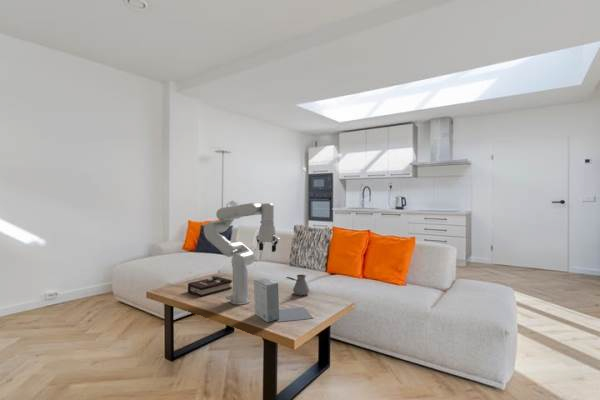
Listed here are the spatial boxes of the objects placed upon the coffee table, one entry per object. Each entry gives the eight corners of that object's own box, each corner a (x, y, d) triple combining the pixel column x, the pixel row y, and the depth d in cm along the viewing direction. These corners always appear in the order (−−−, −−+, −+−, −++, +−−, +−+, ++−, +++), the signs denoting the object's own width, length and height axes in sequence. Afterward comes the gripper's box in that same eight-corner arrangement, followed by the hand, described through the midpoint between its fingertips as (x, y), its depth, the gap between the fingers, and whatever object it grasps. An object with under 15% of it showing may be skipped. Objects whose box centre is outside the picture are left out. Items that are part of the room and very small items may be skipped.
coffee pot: (299, 290, 224) (300, 269, 224) (312, 293, 217) (312, 272, 217) (279, 298, 207) (279, 275, 207) (292, 301, 200) (292, 278, 200)
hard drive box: (279, 319, 170) (278, 283, 170) (267, 322, 166) (266, 285, 165) (266, 310, 183) (264, 277, 182) (254, 314, 178) (253, 279, 178)
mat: (277, 322, 167) (277, 321, 167) (271, 310, 184) (271, 310, 184) (313, 318, 172) (313, 317, 172) (304, 307, 190) (304, 306, 189)
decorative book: (183, 282, 218) (219, 274, 241) (183, 293, 218) (219, 284, 241) (199, 287, 206) (235, 278, 229) (199, 299, 206) (235, 289, 229)
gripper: (252, 223, 193) (252, 250, 193) (275, 224, 184) (275, 253, 184) (260, 222, 199) (260, 248, 200) (282, 223, 191) (282, 251, 191)
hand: (267, 250), depth 192 cm, fingers open, 9 cm apart
